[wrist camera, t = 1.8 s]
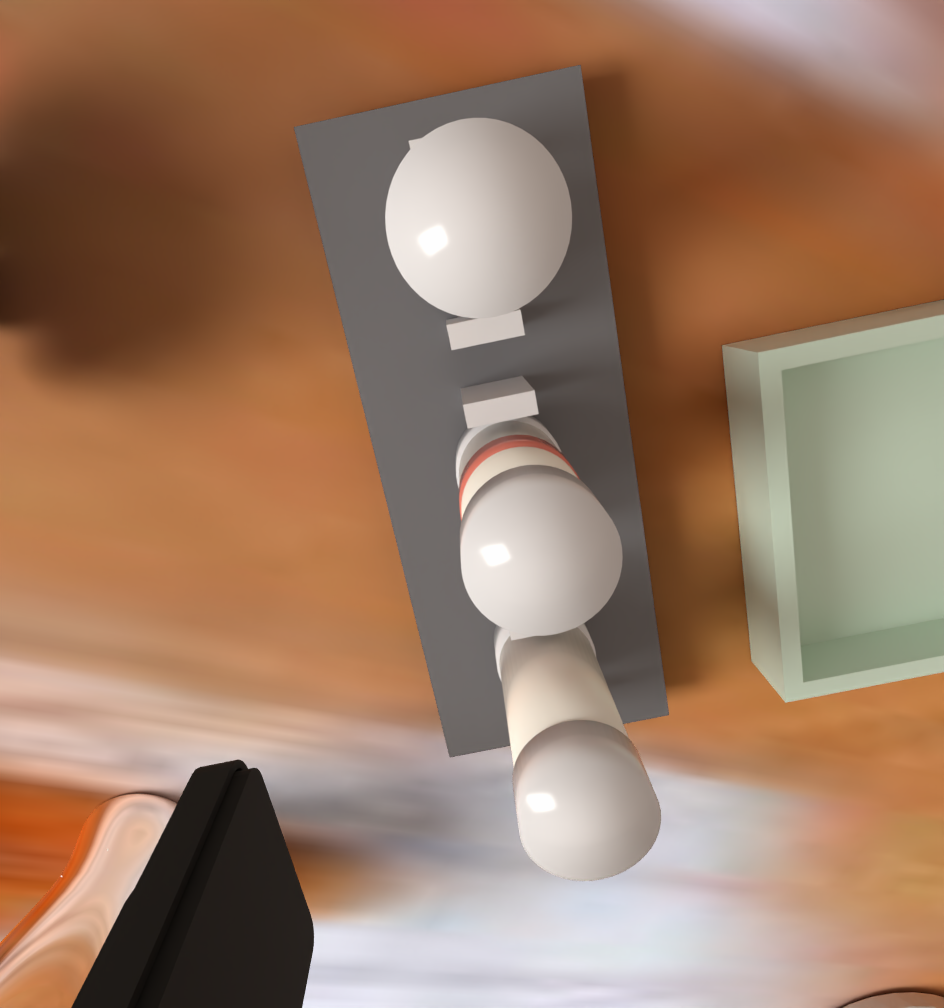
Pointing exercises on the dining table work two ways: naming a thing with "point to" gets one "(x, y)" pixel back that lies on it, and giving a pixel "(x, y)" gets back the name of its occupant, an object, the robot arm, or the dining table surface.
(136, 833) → the beer glass
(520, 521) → the cylinder
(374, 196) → the fuse holder
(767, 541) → the tray
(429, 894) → the dining table surface
